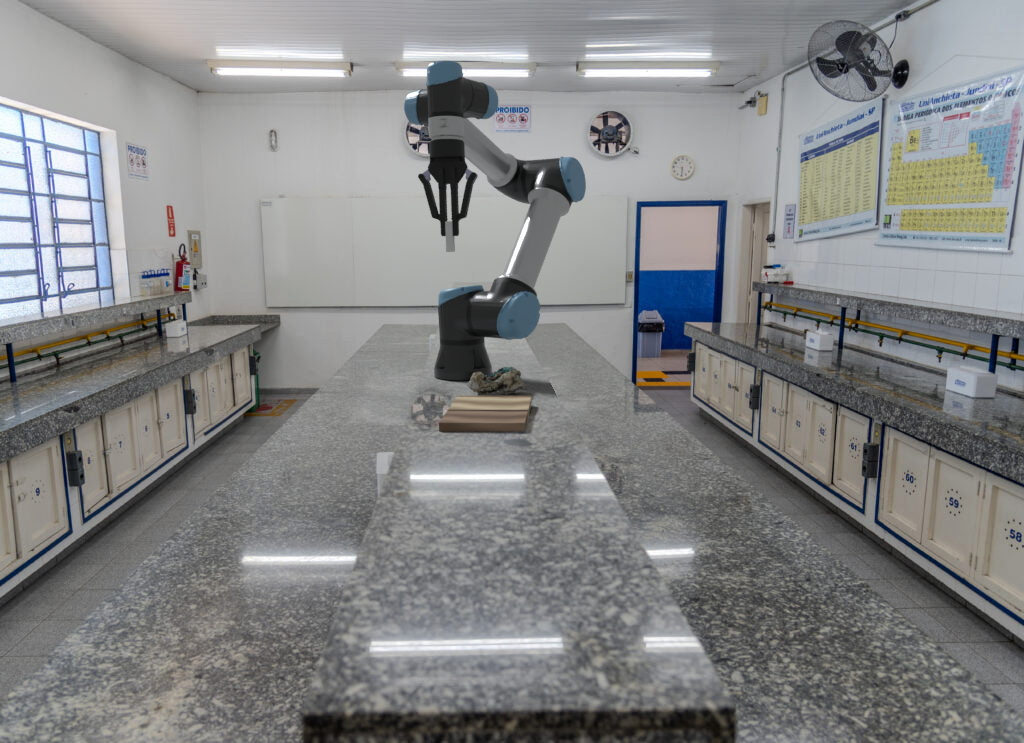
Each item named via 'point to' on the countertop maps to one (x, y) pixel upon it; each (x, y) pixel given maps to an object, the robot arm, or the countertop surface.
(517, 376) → the mineral specimen
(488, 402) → the board
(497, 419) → the floor board
